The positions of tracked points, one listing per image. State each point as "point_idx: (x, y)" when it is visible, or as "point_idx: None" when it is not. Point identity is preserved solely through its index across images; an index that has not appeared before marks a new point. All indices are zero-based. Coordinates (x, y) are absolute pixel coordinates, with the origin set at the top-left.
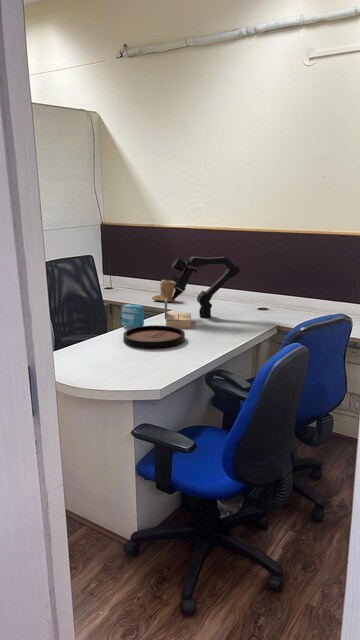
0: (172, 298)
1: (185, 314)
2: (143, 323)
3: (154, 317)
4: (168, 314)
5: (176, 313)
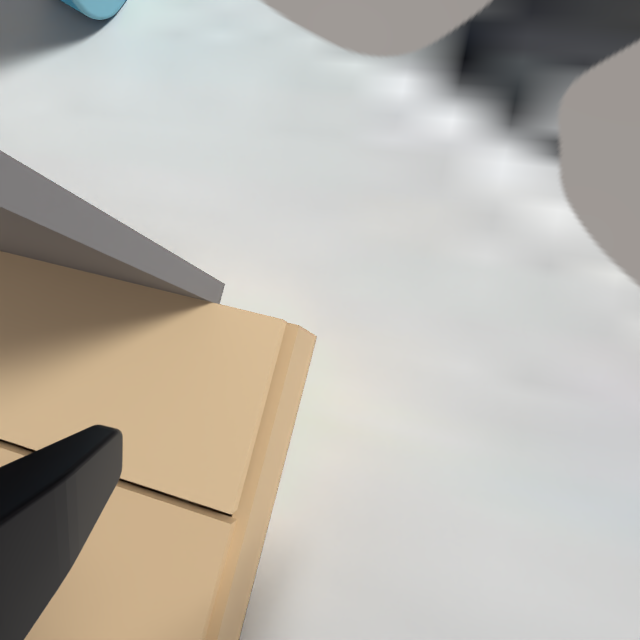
0: (91, 428)
1: (87, 597)
2: (70, 2)
3: (499, 188)
4: (123, 306)
5: (153, 453)
